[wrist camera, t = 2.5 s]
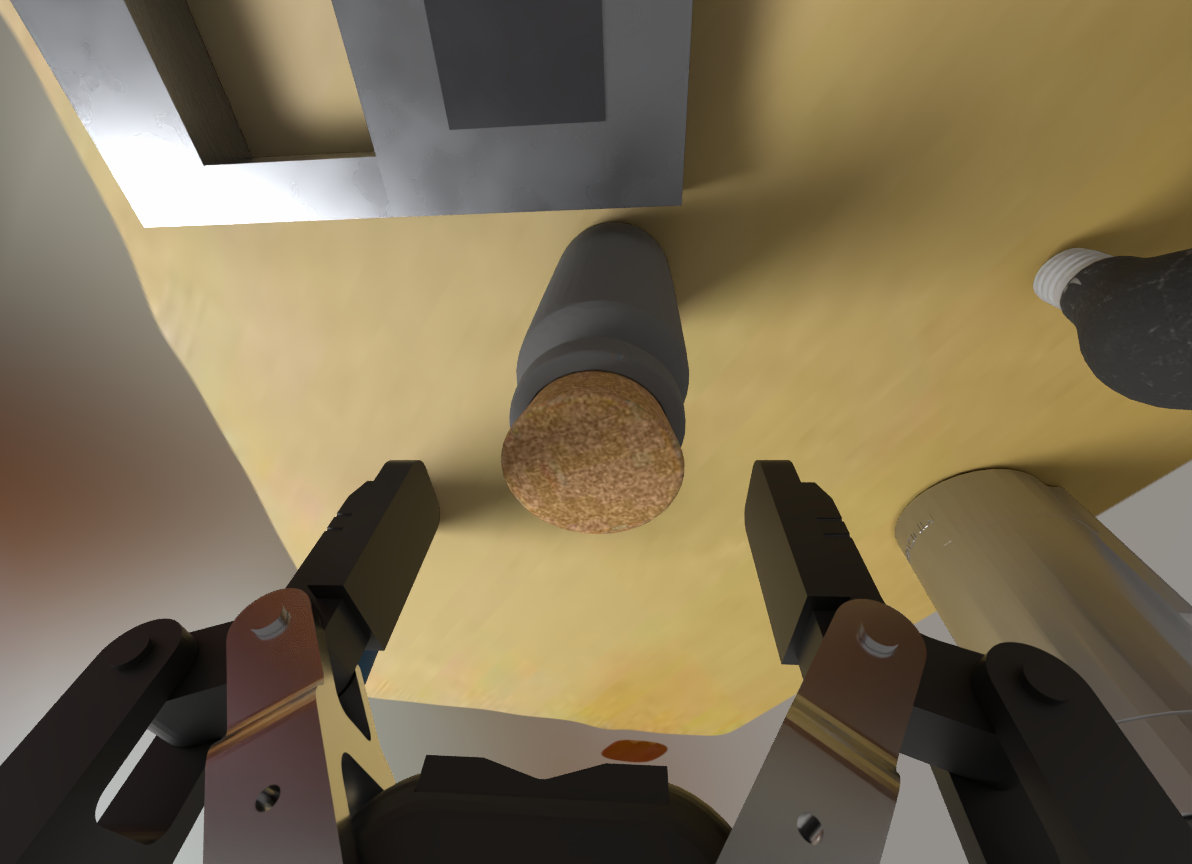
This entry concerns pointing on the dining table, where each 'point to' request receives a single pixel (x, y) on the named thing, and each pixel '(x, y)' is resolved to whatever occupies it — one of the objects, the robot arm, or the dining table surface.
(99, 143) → the panel
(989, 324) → the dining table surface
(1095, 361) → the light bulb
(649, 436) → the bottle
